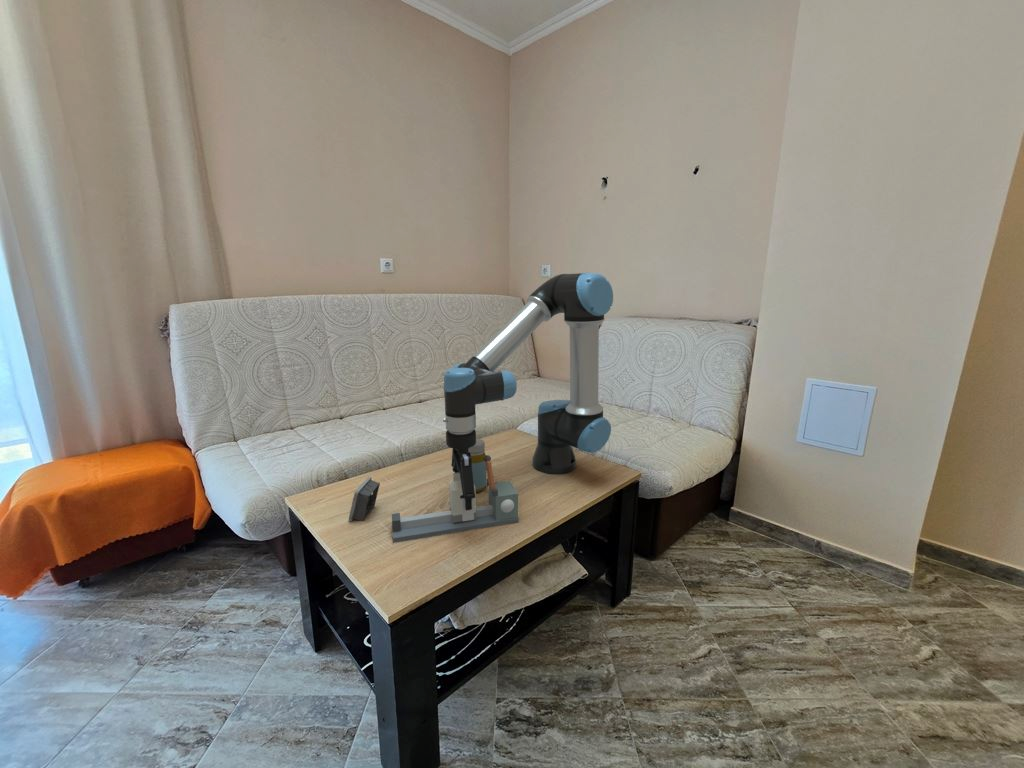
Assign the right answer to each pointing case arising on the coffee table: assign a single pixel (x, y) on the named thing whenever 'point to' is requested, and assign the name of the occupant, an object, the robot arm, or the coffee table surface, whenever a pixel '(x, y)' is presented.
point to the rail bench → (441, 523)
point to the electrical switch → (364, 499)
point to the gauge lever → (489, 471)
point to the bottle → (478, 465)
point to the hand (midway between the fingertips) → (463, 506)
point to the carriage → (458, 501)
